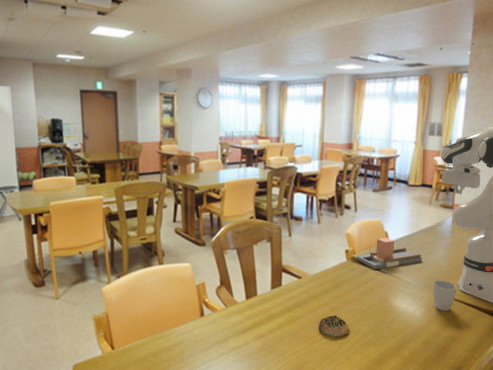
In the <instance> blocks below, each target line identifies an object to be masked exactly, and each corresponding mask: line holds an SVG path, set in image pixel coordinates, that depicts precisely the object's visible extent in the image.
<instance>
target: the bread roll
mask: <svg viewBox="0 0 493 370" xmlns="http://www.w3.org/2000/svg"><path fill="white" fill-rule="evenodd" d="M318 328H319V329H320V330H319V331H320V332H321V333H322V334H323V335H324V336H325V335H326V337H335V338H339V337H340V338H341V337H343V336H345V335H348V334H349V333H350V331H351V330H350V328H349V325H348V323H347V322H346V321H345V320H344V319H342V318H341V317H338V316H337V314H335V315H329V316H327V317H323V318H322V319H321V320H320V321H319V324H318Z"/></svg>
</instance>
